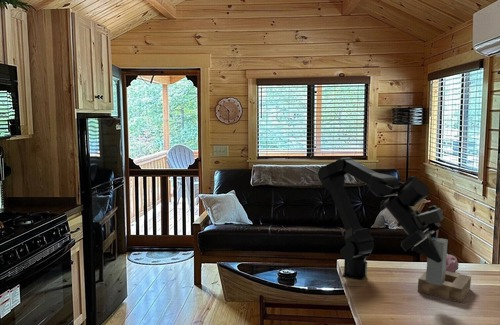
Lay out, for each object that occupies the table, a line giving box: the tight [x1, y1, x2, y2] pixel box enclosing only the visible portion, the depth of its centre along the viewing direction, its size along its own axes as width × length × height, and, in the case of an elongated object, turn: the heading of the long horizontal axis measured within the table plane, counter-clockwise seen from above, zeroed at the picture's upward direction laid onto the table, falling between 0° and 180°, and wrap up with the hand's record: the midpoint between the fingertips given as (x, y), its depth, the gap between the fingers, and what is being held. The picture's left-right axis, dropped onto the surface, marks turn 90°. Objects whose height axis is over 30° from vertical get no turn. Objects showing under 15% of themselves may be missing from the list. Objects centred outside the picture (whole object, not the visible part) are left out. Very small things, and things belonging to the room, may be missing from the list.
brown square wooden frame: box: [417, 271, 472, 304], centre depth 133 cm, size 12×12×4 cm
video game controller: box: [446, 253, 459, 273], centre depth 148 cm, size 10×5×7 cm, turn 169°
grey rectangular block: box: [425, 237, 449, 286], centre depth 122 cm, size 4×4×12 cm
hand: (442, 259), depth 121 cm, fingers closed on grey rectangular block, 4 cm apart
